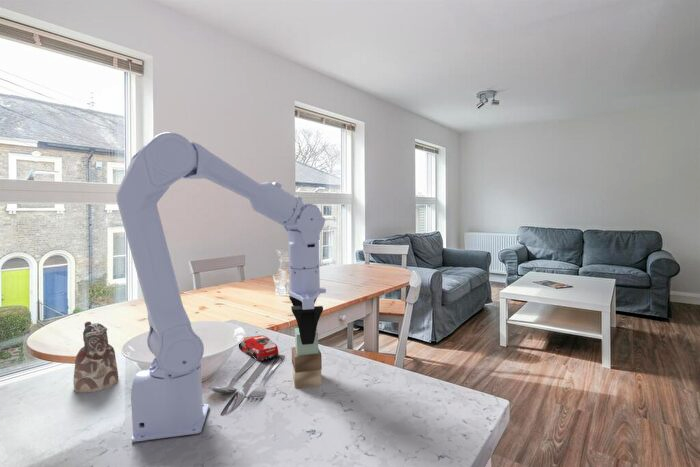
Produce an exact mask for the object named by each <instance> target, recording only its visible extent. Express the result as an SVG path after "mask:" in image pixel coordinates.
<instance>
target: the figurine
mask: <svg viewBox="0 0 700 467" xmlns="http://www.w3.org/2000/svg"><path fill="white" fill-rule="evenodd" d="M107 332H108V328H107V327H105V326H104V325H103V324H101V323H99V322H97V323H92V321H86V322H85V323H84V330H83V332H82V341H83V343H84V345H83V347H81V348H80V349H79V351H78V352H77V354H76V356H75V359H74V368H73V369H74V371H73V379H72V380H73V390H74V391H75V392H76V393H82V392H83V393H97V392H100V391H102V390H106V389H108V388H110V387H112V386H113V385H116V383H117V382H118V381H119V369H118V366H117V358H116V351H115V348H114V347H113V345H111V344H109V338H108V333H107Z"/></svg>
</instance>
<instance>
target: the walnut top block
mask: <svg viewBox="0 0 700 467" xmlns="http://www.w3.org/2000/svg"><path fill="white" fill-rule="evenodd" d="M322 361H323V360H322V353H321V350H320V349H319V348H318V354H309V355H300V356H297V353H296V349H295V346H294V347H291V364H292V368H293V367H294V370H295V373H298V372H305V371H313V370H320V369H321V370H323V369H322V367H323V366H322Z"/></svg>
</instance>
